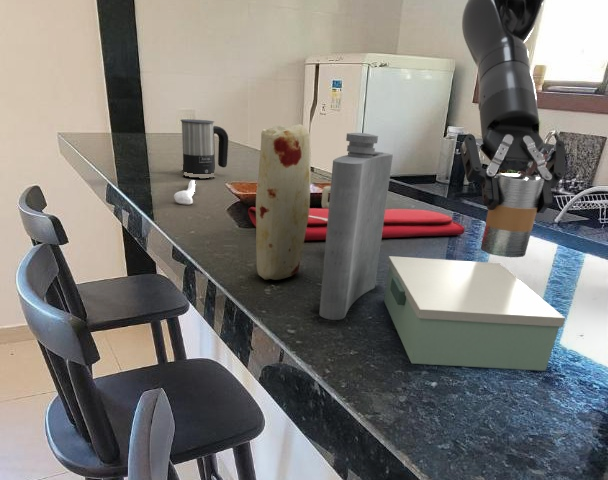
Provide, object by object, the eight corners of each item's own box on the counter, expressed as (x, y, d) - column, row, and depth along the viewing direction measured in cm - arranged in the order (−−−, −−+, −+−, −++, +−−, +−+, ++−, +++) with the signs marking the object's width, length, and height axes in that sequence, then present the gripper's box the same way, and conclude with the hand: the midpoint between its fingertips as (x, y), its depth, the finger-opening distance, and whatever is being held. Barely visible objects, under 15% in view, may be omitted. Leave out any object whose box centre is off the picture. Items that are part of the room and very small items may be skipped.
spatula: (181, 183, 139) (181, 172, 138) (197, 184, 140) (197, 173, 138) (173, 204, 114) (172, 191, 113) (192, 205, 115) (192, 192, 114)
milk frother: (199, 180, 145) (198, 121, 138) (158, 173, 152) (155, 116, 146) (232, 176, 156) (233, 121, 149) (193, 169, 163) (192, 116, 156)
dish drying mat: (465, 237, 107) (469, 218, 105) (274, 244, 91) (275, 222, 89) (420, 219, 120) (423, 202, 118) (246, 223, 104) (247, 203, 102)
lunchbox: (493, 307, 71) (504, 263, 68) (554, 372, 54) (571, 318, 51) (377, 300, 70) (383, 255, 67) (403, 364, 53) (413, 308, 51)
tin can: (515, 246, 77) (533, 174, 73) (532, 258, 72) (552, 181, 67) (474, 244, 77) (489, 172, 72) (488, 256, 71) (505, 178, 67)
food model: (286, 289, 71) (296, 126, 62) (242, 280, 73) (245, 121, 64) (312, 270, 79) (324, 125, 70) (271, 263, 81) (278, 120, 72)
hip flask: (340, 322, 62) (360, 138, 53) (308, 314, 63) (322, 134, 54) (377, 284, 75) (398, 132, 66) (350, 279, 77) (367, 129, 68)
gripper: (466, 81, 71) (475, 187, 66) (571, 89, 72) (587, 194, 67) (449, 122, 78) (455, 220, 73) (544, 129, 79) (557, 227, 74)
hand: (518, 207), depth 70 cm, fingers closed on tin can, 6 cm apart
